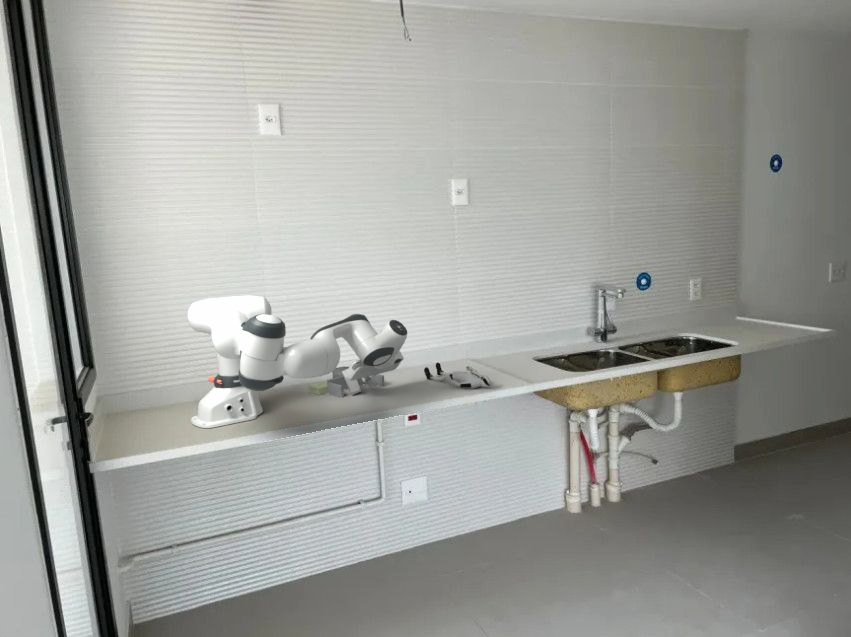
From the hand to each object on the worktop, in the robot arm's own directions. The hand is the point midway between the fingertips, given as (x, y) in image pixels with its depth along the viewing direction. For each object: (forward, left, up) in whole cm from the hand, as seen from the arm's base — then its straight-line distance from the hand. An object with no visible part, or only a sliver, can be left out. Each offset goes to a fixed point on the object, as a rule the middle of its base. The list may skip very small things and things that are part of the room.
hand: (365, 379), depth 223 cm
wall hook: (0, +2, -5) cm, 5 cm away
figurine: (+29, -18, -5) cm, 35 cm away
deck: (0, +10, -5) cm, 11 cm away
